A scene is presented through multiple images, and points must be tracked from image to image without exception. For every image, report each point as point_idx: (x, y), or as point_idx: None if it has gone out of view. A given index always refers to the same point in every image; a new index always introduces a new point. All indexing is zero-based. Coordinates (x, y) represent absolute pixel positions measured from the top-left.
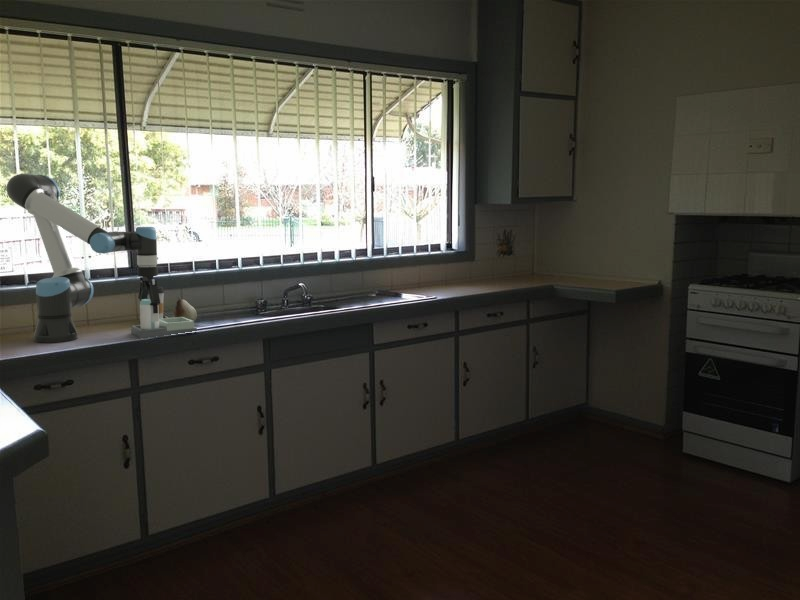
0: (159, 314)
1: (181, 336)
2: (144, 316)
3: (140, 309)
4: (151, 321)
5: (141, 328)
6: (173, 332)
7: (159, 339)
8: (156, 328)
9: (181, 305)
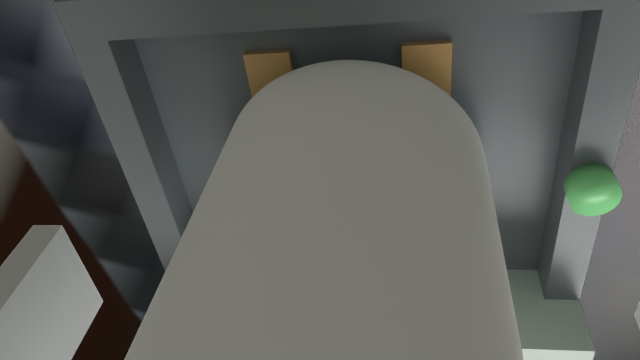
0: None
1: (134, 296)
2: (192, 231)
3: (263, 324)
4: (55, 227)
5: (320, 62)
6: None
7: (14, 125)
8: (169, 208)
9: None
